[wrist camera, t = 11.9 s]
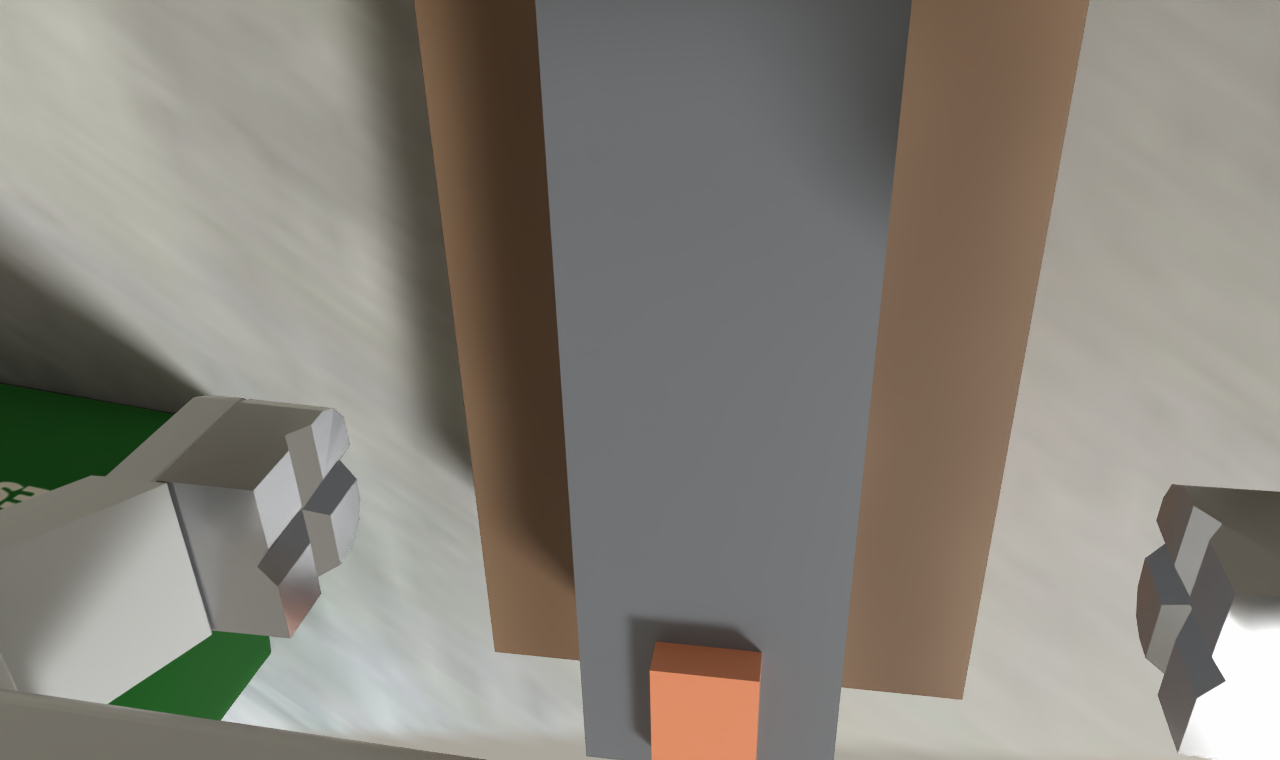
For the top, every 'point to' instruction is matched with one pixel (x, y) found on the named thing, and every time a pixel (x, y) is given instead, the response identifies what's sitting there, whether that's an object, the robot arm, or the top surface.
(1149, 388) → the top surface
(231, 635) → the milk carton
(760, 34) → the grey bar
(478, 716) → the top surface
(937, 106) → the keyhole board
